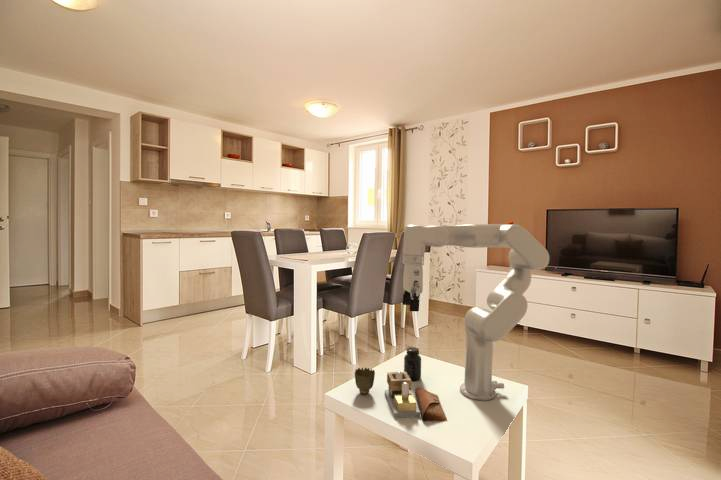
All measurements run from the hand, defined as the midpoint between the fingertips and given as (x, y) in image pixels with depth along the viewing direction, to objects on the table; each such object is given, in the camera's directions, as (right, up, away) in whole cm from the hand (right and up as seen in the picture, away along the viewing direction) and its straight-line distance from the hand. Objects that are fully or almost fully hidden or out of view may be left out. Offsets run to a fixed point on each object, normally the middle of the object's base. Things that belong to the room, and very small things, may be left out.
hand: (410, 307), depth 127 cm
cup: (-16, -32, +3) cm, 36 cm away
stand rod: (-4, -31, -1) cm, 31 cm away
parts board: (-4, -32, -5) cm, 33 cm away
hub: (-3, -31, -10) cm, 33 cm away
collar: (-4, -28, -1) cm, 28 cm away
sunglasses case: (+6, -33, -6) cm, 34 cm away
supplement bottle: (+3, -32, +17) cm, 36 cm away
